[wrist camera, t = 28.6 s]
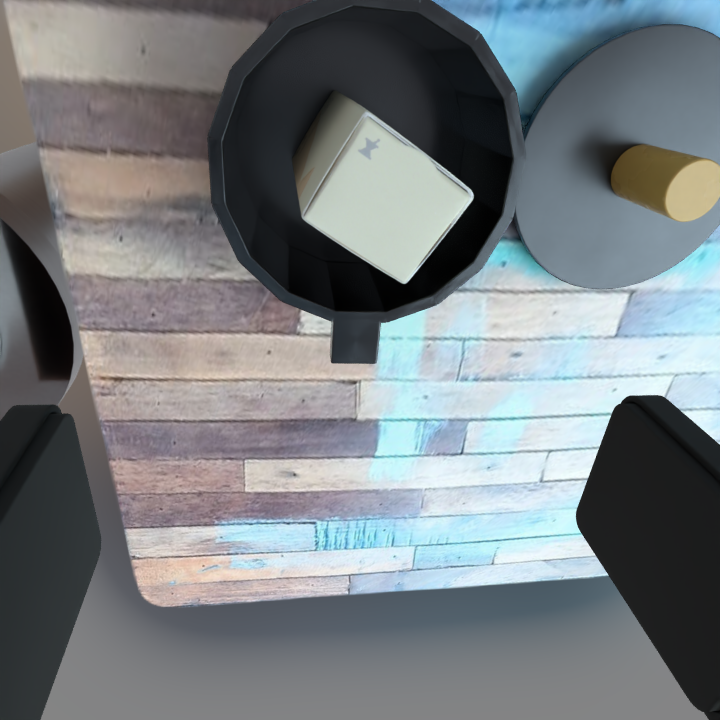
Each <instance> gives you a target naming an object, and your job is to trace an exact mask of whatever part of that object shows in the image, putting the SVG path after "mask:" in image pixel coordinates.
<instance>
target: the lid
mask: <svg viewBox="0 0 720 720" xmlns="http://www.w3.org/2000/svg"><path fill="white" fill-rule="evenodd" d="M523 138H524V144H525V151H526V161H525V165H524V170H523V175H522V179H521V184H520V189H519V193H518V198H517V203H516V207H515V212H514V221H515V225H516V228H517V231H518V233H519V236H520V238H521V241H522V242H523V244H524V246H525V247H526V249H527V251H528V252H529V254H530V255H531V256H532V257H533V259H534V260H535V261H536V262H537V263H538V264H539V265H540V266H541V267H543V268H544V269H545V270H546V271H547V272H548V273H550V274H551V275H553V276H555V277H556V278H558V279H560V280H562V281H564V282H567V283H569V284H572V285H575V286H579V287H583V288H591V289H613V288H619V287H626V286H630V285H633V284H637V283H640V282H643V281H645V280H648V279H650V278H653V277H655V276H657V275H659V274H661V273H663V272H665V271H666V270H668V269H670V268H672V267H673V266H675V265H676V264H678V263H679V262H681V261H682V260H684V259H685V258H686V257H687V256H689V255H690V254H691V253H692V252H694V251H695V250H696V249H697V248H698V247H699V246H700V245H701V244H702V243H703V242H704V241H705V240H706V239H707V238H708V237H709V236H710V235H711V234H712V233H713V232H714V230H715V229H716V228H717V227H718V226H719V225H720V38H719V37H717V36H716V35H714V34H713V33H710V32H708V31H705V30H703V29H700V28H697V27H692V26H687V25H682V24H661V25H654V26H647V27H641V28H638V29H634V30H631V31H627V32H624V33H622V34H620V35H618V36H615V37H613V38H611V39H609V40H607V41H605V42H603V43H602V44H600V45H598V46H597V47H595V48H593V49H592V50H590V51H589V52H587V53H586V54H585V55H584V56H582V57H581V58H580V59H579V60H577V61H576V62H575V63H573V64H572V65H571V66H570V67H569V68H568V69H567V70H566V71H565V72H564V73H563V74H562V75H561V76H560V77H559V78H558V80H557V81H556V82H555V83H554V84H553V86H552V87H551V88H550V89H549V90H548V92H547V93H546V94H545V96H544V97H543V99H542V100H541V102H540V103H539V105H538V106H537V108H536V109H535V111H534V113H533V115H532V117H531V119H530V121H529V123H528V125H527V127H526V129H525V131H524V134H523Z"/></svg>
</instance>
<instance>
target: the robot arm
mask: <svg viewBox="0 0 720 720" xmlns="http://www.w3.org/2000/svg"><path fill="white" fill-rule="evenodd" d="M576 521H577V525H578V528H579V530H580V532H581V533H582V535H583V536H584V538H585V539H586V541H587V542H588V544H589V546H590V547H591V549H592V550H593V552H594V553H595V555H596V556H597V558H598V560H599V561H600V563H601V564H602V566H603V567H604V569H605V570H606V572H607V573H608V575H609V577H610V578H611V580H612V581H613V583H614V584H615V586H616V587H617V589H618V590H619V592H620V594H621V595H622V597H623V598H624V600H625V601H626V603H627V604H628V606H629V607H630V609H631V611H632V612H633V614H634V615H635V617H636V618H637V620H638V622H639V623H640V624H641V626H642V627H643V629H644V631H645V632H646V634H647V635H648V637H649V639H650V640H651V642H652V643H653V645H654V646H655V648H656V649H657V651H658V652H659V654H660V656H661V657H662V659H663V660H664V662H665V663H666V665H667V666H668V668H669V669H670V671H671V673H672V674H673V676H674V677H675V679H676V680H677V682H678V683H679V685H680V687H681V688H682V690H683V691H684V693H685V694H686V696H687V697H688V699H689V700H690V702H691V703H692V704H693V705H694V706H695V707H696V708H697V709H698V710H700V711H702V712H704V713H705V715H706V716H707V718H708V719H709V720H720V445H719V444H718V443H717V442H716V441H715V440H714V439H712V438H711V437H710V436H709V435H708V434H707V433H706V432H704V431H703V430H702V429H701V428H700V427H699V426H697V425H696V424H695V423H694V422H693V421H692V420H691V419H689V418H688V417H687V416H686V415H685V414H684V413H682V412H681V411H680V410H679V409H678V408H677V407H675V406H674V405H673V404H672V403H671V402H670V401H669V400H667V399H666V398H664V397H663V396H658V395H642V396H628V397H626V398H625V399H624V400H623V401H622V402H621V404H618V405H617V406H616V407H615V408H614V410H613V412H612V415H611V418H610V420H609V423H608V426H607V429H606V431H605V434H604V437H603V439H602V442H601V445H600V448H599V450H598V453H597V456H596V459H595V461H594V464H593V467H592V469H591V472H590V475H589V478H588V480H587V483H586V486H585V489H584V491H583V494H582V497H581V500H580V502H579V505H578V508H577V511H576ZM100 550H101V534H100V530H99V525H98V521H97V517H96V512H95V508H94V504H93V500H92V495H91V491H90V487H89V482H88V478H87V474H86V470H85V466H84V461H83V457H82V452H81V448H80V444H79V440H78V435H77V431H76V427H75V423H74V419H73V417H72V416H71V415H70V414H62V413H61V410H60V409H59V407H58V406H56V405H16V406H13V407H12V408H11V409H10V410H9V411H8V412H7V413H6V414H5V416H4V417H3V418H2V420H1V421H0V720H40V719H41V716H42V714H43V711H44V708H45V705H46V702H47V700H48V697H49V694H50V691H51V689H52V686H53V683H54V680H55V677H56V675H57V672H58V669H59V666H60V664H61V661H62V658H63V655H64V653H65V650H66V647H67V644H68V642H69V639H70V636H71V633H72V631H73V628H74V625H75V622H76V619H77V617H78V614H79V611H80V608H81V605H82V603H83V600H84V597H85V595H86V592H87V589H88V586H89V583H90V581H91V578H92V575H93V572H94V570H95V567H96V564H97V561H98V558H99V555H100Z"/></svg>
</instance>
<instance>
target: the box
mask: <svg viewBox="0 0 720 720" xmlns="http://www.w3.org/2000/svg"><path fill="white" fill-rule="evenodd" d="M292 165H293V171H294V176H295V181H296V187H297V193H298V199H299V205H300V210H301V216H302V219H303V220H305V221H306V222H307V223H309V224H310V225H312V226H313V227H315V228H316V229H317V230H319V231H320V232H322V233H323V234H325V235H326V236H328V237H329V238H331V239H332V240H334V241H335V242H337V243H338V244H340V245H341V246H343V247H344V248H346V249H347V250H349V251H351V252H352V253H354V254H355V255H357V256H358V257H360V258H361V259H363V260H365V261H366V262H368V263H370V264H371V265H373V266H374V267H376V268H378V269H379V270H381V271H383V272H384V273H386V274H387V275H389V276H391V277H393V278H394V279H396V280H398V281H399V282H400V283H403V284H405V283H407V282H408V281H409V280H410V279H411V278H412V276H413V275H414V274H415V273H416V272H417V270H418V269H419V268H420V267H421V265H422V264H423V263H424V261H425V260H426V259H427V258H428V257H429V256H430V254H431V253H432V252H433V251H434V249H435V248H436V247H437V245H438V244H439V243H440V242H441V240H442V239H443V238H444V237H445V235H446V234H447V233H448V231H449V230H450V229H451V228H452V226H453V225H454V224H455V223H456V221H457V220H458V219H459V217H460V216H461V215H462V213H463V212H464V211H465V210H466V208H467V207H468V206H469V204H470V203H471V202H472V200H473V198H474V195H473V192H472V190H471V189H470V188H469V187H467V186H466V185H465V184H464V183H462V182H461V181H460V180H459V179H458V178H456V177H455V176H454V175H453V174H451V173H450V172H449V171H447V170H446V169H445V168H443V167H442V166H441V165H440V164H438V163H437V162H436V161H434V160H433V159H432V158H431V157H429V156H428V155H427V154H426V153H424V152H423V151H422V150H420V149H419V148H418V147H416V146H415V145H414V144H412V143H411V142H410V141H408V140H407V139H406V138H404V137H403V136H402V135H400V134H399V133H398V132H396V131H395V130H394V129H392V128H391V127H390V126H388V125H387V124H386V123H384V122H383V121H382V120H380V119H379V118H378V117H376V116H375V115H373V114H372V113H371V112H369V111H368V110H366V109H365V108H364V107H362V106H361V105H359V104H357V103H356V102H354V101H353V100H351V99H349V98H347V97H346V96H344V95H343V94H341V93H339V92H338V91H336V90H335V91H333V92H332V93H331V95H330V96H329V98H328V99H327V101H326V103H325V104H324V106H323V107H322V109H321V110H320V112H319V113H318V115H317V117H316V118H315V120H314V122H313V123H312V125H311V127H310V128H309V130H308V132H307V133H306V135H305V137H304V139H303V140H302V142H301V144H300V146H299V147H298V149H297V151H296V153H295V155H294V157H293V159H292Z"/></svg>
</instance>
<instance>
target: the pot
mask: <svg viewBox="0 0 720 720" xmlns="http://www.w3.org/2000/svg"><path fill="white" fill-rule="evenodd" d="M335 90H336V91H338V92H339V93H341V94H343V95H344V96H346V97H347V98H349V99H351V100H353V101H354V102H356V103H357V104H359V105H361V106H362V107H364V108H365V109H366V110H368V111H369V112H371V113H372V114H373V115H375V116H376V117H378V118H379V119H380V120H382V121H383V122H384V123H386V124H387V125H388V126H390V127H391V128H392V129H394V130H395V131H396V132H398V133H399V134H400V135H402V136H403V137H404V138H406V139H407V140H408V141H410V142H411V143H412V144H414V145H415V146H416V147H418V148H419V149H420V150H422V151H423V152H424V153H426V154H427V155H428V156H429V157H431V158H432V159H433V160H434V161H436V162H437V163H438V164H440V165H441V166H442V167H443V168H445V169H446V170H447V171H449V172H450V173H451V174H453V175H454V176H455V177H456V178H458V179H459V180H460V181H461V182H462V183H464V184H465V185H466V186H467V187H469V188H470V189H471V190H472V192H473V195H474V198H473V200H472V202H471V203H470V204H469V206H468V207H467V208H466V210H465V211H464V212H463V213H462V215H461V216H460V217H459V219H458V220H457V221H456V223H455V224H454V225H453V226H452V228H451V229H450V230H449V231H448V233H447V234H446V235H445V237H444V238H443V239H442V240H441V242H440V243H439V244H438V245H437V247H436V248H435V249H434V251H433V252H432V253H431V254H430V256H429V257H428V258H427V259H426V260H425V261H424V263H423V264H422V265H421V267H420V268H419V269H418V270H417V272H416V273H415V274H414V275H413V276H412V278H411V279H410V280H409V281H408V282H407V283H405V284H403V283H400V282H399V281H398V280H396V279H394V278H393V277H391V276H389V275H387V274H386V273H384V272H383V271H381V270H379V269H378V268H376V267H374V266H373V265H371V264H370V263H368V262H366V261H365V260H363V259H361V258H360V257H358V256H357V255H355V254H354V253H352V252H351V251H349V250H347V249H346V248H344V247H343V246H341V245H340V244H338V243H337V242H335V241H334V240H332V239H331V238H329V237H328V236H326V235H325V234H323V233H322V232H320V231H319V230H317V229H316V228H315V227H313V226H312V225H310V224H309V223H307V222H306V221H305V220H303V219H302V216H301V210H300V205H299V199H298V193H297V187H296V181H295V176H294V171H293V165H292V159H293V157H294V155H295V153H296V151H297V149H298V147H299V146H300V144H301V142H302V140H303V139H304V137H305V135H306V133H307V132H308V130H309V128H310V127H311V125H312V123H313V122H314V120H315V118H316V117H317V115H318V113H319V112H320V110H321V109H322V107H323V106H324V104H325V103H326V101H327V99H328V98H329V96H330V95H331V93H332V92H333V91H335ZM207 141H208V157H209V173H210V189H211V203H212V207H213V209H214V211H215V213H216V215H217V217H218V219H219V221H220V224H221V226H222V228H223V230H224V232H225V234H226V236H227V238H228V240H229V243H230V245H231V247H232V249H233V251H234V253H235V255H236V257H237V259H238V261H239V262H240V263H241V264H242V265H243V266H244V267H245V268H246V269H247V270H248V271H249V272H250V273H251V274H252V275H253V276H255V277H256V278H257V279H258V280H259V281H260V282H261V283H262V284H263V285H264V286H265V287H266V288H267V289H268V290H269V291H271V292H272V293H273V294H274V295H275V296H276V297H277V298H278V299H279V300H280V301H282V302H284V303H286V304H289V305H291V306H294V307H296V308H299V309H301V310H304V311H306V312H309V313H311V314H314V315H316V316H319V317H321V318H324V319H326V320H329V321H332V324H331V343H330V358H331V363H359V364H375V363H377V356H378V347H379V337H380V327H381V323H386V322H390V321H393V320H396V319H398V318H401V317H404V316H407V315H410V314H413V313H416V312H418V311H421V310H424V309H427V308H430V307H433V306H436V305H437V304H439V303H441V302H442V301H443V300H444V299H446V298H447V297H448V296H449V295H450V294H452V293H453V292H454V291H455V290H457V289H458V288H459V287H460V286H462V285H463V284H464V283H465V282H467V281H468V280H469V279H470V278H472V277H473V276H474V275H475V274H476V273H478V272H479V271H480V270H481V269H482V268H483V267H484V265H485V263H486V262H487V260H488V258H489V257H490V255H491V254H492V252H493V250H494V249H495V247H496V246H497V244H498V242H499V241H500V239H501V237H502V236H503V234H504V233H505V231H506V229H507V228H508V226H509V225H510V223H511V221H512V220H513V217H514V212H515V207H516V203H517V198H518V193H519V189H520V184H521V179H522V175H523V170H524V165H525V161H526V151H525V144H524V138H523V131H522V124H521V118H520V111H519V105H518V98H517V93H516V90H515V88H514V86H513V85H512V83H511V82H510V80H509V78H508V77H507V75H506V73H505V72H504V70H503V68H502V67H501V65H500V64H499V62H498V60H497V59H496V57H495V55H494V54H493V52H492V50H491V49H490V47H489V46H488V44H487V42H486V41H485V39H484V37H483V36H482V34H480V32H479V31H477V30H476V29H474V28H473V27H471V26H470V25H468V24H467V23H465V22H464V21H462V20H461V19H459V18H458V17H456V16H454V15H453V14H451V13H450V12H448V11H447V10H445V9H444V8H442V7H441V6H439V5H438V4H436V3H435V2H433V1H432V0H314V1H312V2H309V3H307V4H304V5H302V6H299V7H296V8H294V9H291V10H289V11H286V12H284V13H282V15H279V16H278V17H277V19H276V20H275V21H274V22H273V23H272V24H271V25H270V26H269V27H268V28H267V29H266V30H265V32H264V33H263V34H262V35H261V36H260V37H259V38H258V39H257V40H256V41H255V42H254V43H253V44H252V46H251V47H250V48H249V49H248V50H247V51H246V52H245V53H244V54H243V55H242V56H241V57H240V59H239V60H238V61H237V62H236V63H235V64H234V65H233V66H232V69H231V70H230V72H229V74H228V77H227V80H226V83H225V86H224V89H223V92H222V95H221V98H220V101H219V104H218V107H217V110H216V112H215V115H214V118H213V121H212V124H211V127H210V130H209V133H208V138H207Z"/></svg>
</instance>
